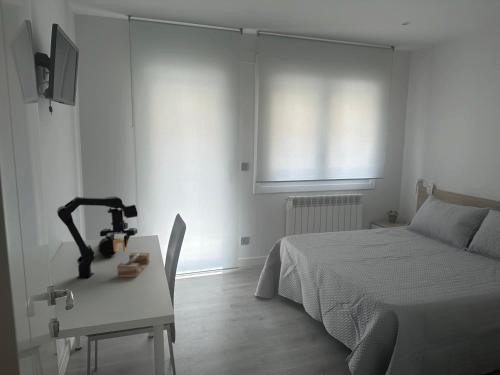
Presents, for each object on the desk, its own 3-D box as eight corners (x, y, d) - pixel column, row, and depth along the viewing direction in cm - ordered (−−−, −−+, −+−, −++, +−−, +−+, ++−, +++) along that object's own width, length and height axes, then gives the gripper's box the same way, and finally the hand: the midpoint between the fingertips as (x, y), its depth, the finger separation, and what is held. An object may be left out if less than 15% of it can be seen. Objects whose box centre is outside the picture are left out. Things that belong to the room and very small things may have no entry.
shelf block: (136, 276, 183) (135, 264, 182) (118, 276, 183) (117, 264, 182) (149, 262, 203) (148, 251, 202) (132, 262, 203) (131, 251, 202)
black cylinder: (109, 248, 244) (115, 234, 245) (113, 259, 213) (120, 243, 214) (94, 244, 240) (101, 230, 241) (96, 254, 209) (103, 237, 210)
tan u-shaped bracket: (126, 249, 195) (125, 238, 194) (124, 251, 192) (123, 240, 191) (116, 249, 195) (115, 238, 194) (114, 251, 192) (112, 240, 191)
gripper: (139, 215, 198) (141, 242, 201) (106, 216, 199) (109, 242, 201) (132, 220, 187) (135, 248, 190) (98, 221, 188) (101, 249, 190)
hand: (120, 247), depth 193 cm, fingers closed on tan u-shaped bracket, 6 cm apart
